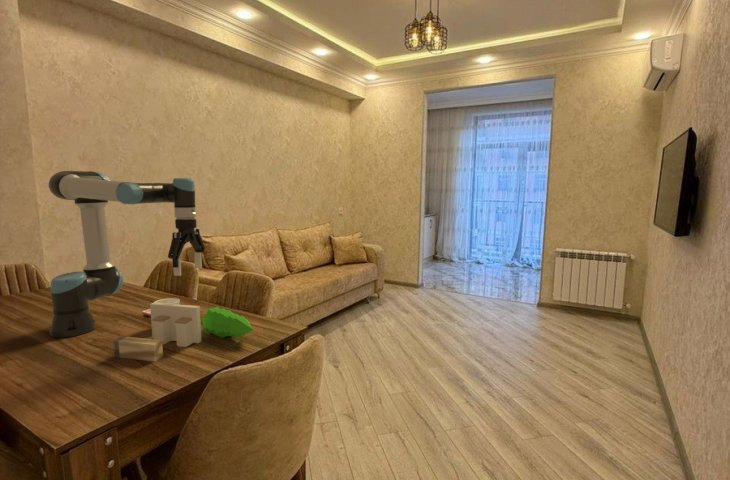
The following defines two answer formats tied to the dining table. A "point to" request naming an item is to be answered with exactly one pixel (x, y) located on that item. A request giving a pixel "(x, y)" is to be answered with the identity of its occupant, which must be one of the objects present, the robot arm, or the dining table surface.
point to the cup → (168, 301)
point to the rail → (138, 348)
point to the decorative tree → (224, 323)
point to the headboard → (176, 323)
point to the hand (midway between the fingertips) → (188, 271)
